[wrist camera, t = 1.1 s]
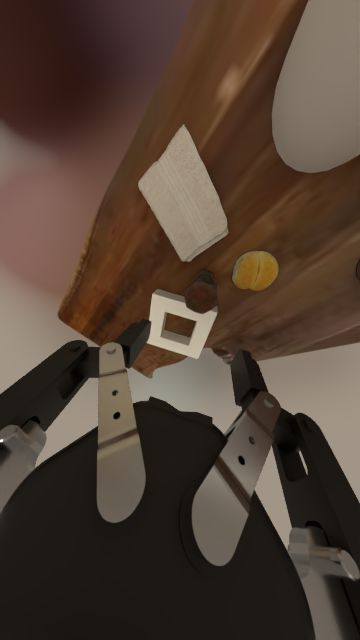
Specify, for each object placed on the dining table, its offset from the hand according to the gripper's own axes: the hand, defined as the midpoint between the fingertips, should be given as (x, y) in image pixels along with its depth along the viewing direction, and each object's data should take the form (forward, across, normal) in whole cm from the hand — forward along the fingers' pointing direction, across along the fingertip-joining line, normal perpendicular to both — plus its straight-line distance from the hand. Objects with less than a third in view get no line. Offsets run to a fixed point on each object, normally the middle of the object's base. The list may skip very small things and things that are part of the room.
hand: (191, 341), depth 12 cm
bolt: (+26, 0, 0) cm, 26 cm away
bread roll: (+26, -10, -4) cm, 28 cm away
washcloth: (+26, +8, -12) cm, 30 cm away
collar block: (+26, +3, +15) cm, 30 cm away
